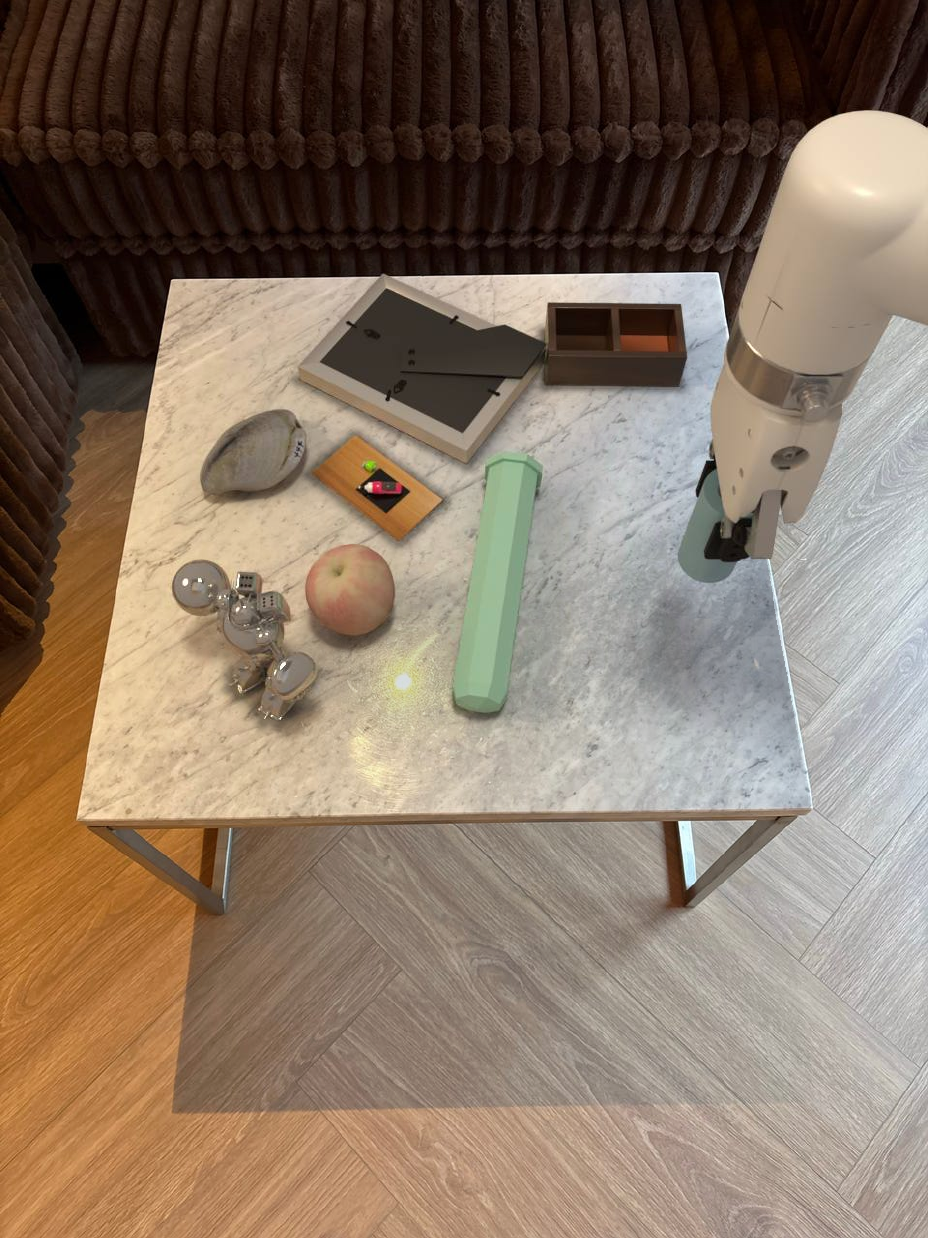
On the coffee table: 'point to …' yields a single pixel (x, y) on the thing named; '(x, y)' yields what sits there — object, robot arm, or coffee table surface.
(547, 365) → the holder
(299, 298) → the coffee table surface
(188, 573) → the robot toy
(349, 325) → the picture frame
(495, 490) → the container
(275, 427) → the seashell
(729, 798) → the coffee table surface
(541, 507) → the coffee table surface
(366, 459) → the board
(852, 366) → the robot arm
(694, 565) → the bottle
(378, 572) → the apple
